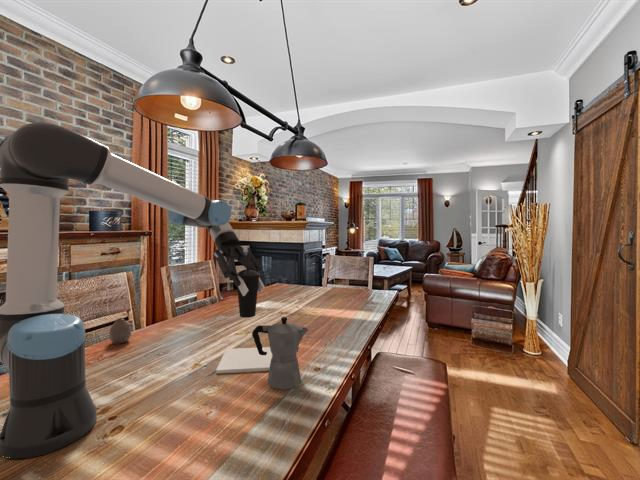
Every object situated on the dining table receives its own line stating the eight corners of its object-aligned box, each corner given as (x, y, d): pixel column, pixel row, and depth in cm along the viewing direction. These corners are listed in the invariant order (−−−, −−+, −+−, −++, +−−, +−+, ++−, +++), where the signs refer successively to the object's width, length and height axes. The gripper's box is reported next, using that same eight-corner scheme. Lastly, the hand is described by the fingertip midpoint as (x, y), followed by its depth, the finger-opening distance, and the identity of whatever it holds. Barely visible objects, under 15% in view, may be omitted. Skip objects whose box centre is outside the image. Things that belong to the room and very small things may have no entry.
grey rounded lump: (120, 346, 110) (120, 322, 110) (104, 344, 112) (103, 321, 111) (135, 339, 117) (135, 316, 117) (120, 338, 118) (119, 315, 118)
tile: (271, 370, 91) (271, 367, 91) (216, 373, 89) (215, 370, 89) (273, 349, 107) (273, 346, 107) (226, 351, 105) (226, 348, 105)
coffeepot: (309, 373, 89) (309, 312, 89) (307, 390, 80) (307, 322, 79) (256, 373, 89) (255, 312, 89) (248, 390, 80) (247, 322, 79)
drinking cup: (229, 316, 96) (230, 253, 96) (246, 311, 103) (246, 252, 103) (248, 320, 93) (249, 254, 92) (264, 314, 100) (265, 253, 99)
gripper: (243, 244, 114) (272, 294, 104) (195, 246, 100) (222, 304, 90) (251, 230, 111) (282, 280, 100) (203, 230, 97) (232, 288, 86)
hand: (254, 291), depth 95 cm, fingers closed on drinking cup, 6 cm apart
